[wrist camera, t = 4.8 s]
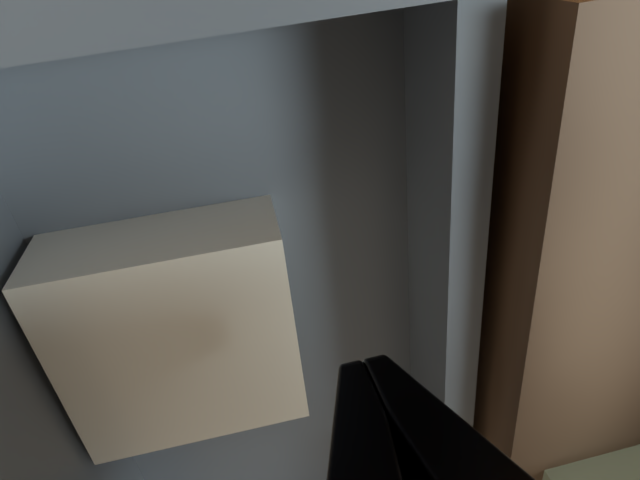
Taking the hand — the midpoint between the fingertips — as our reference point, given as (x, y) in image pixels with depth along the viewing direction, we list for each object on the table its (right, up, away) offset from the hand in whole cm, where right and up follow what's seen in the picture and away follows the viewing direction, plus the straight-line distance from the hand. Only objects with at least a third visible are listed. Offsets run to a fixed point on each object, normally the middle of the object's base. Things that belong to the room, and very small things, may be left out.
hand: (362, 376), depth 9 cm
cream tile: (-4, 0, +2) cm, 4 cm away
